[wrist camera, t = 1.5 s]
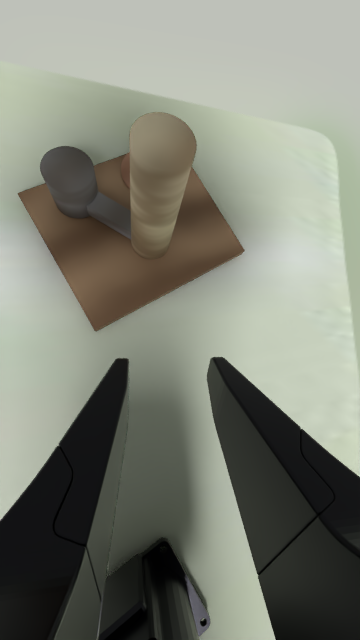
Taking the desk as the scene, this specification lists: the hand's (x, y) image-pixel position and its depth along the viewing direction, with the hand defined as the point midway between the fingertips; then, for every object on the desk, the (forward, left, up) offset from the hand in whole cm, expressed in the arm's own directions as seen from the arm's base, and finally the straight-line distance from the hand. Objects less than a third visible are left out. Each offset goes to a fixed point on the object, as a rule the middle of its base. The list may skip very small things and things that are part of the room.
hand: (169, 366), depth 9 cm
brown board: (+11, -5, -13) cm, 18 cm away
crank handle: (+12, -3, -11) cm, 17 cm away
